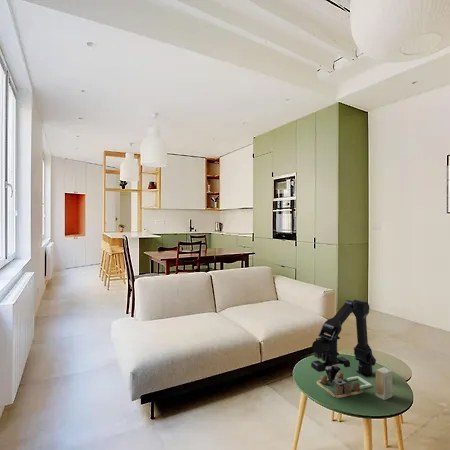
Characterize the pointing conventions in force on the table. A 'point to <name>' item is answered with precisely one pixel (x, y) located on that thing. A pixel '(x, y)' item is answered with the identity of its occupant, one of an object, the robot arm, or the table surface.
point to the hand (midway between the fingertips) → (330, 381)
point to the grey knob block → (339, 383)
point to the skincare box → (384, 383)
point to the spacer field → (338, 388)
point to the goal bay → (361, 381)
